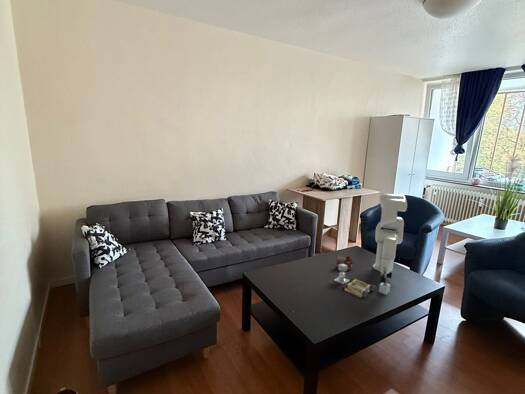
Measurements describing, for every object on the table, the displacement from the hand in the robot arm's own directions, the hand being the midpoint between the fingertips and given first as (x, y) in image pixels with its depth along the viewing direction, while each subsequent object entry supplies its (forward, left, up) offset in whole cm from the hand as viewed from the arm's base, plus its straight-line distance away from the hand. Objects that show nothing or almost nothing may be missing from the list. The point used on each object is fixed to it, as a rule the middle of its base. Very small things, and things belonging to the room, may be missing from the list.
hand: (385, 279), depth 182 cm
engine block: (-1, 0, -9) cm, 9 cm away
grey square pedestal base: (+7, -27, -9) cm, 30 cm away
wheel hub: (+7, -27, 0) cm, 28 cm away
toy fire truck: (-12, -36, -9) cm, 39 cm away
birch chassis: (+9, -13, -9) cm, 19 cm away
